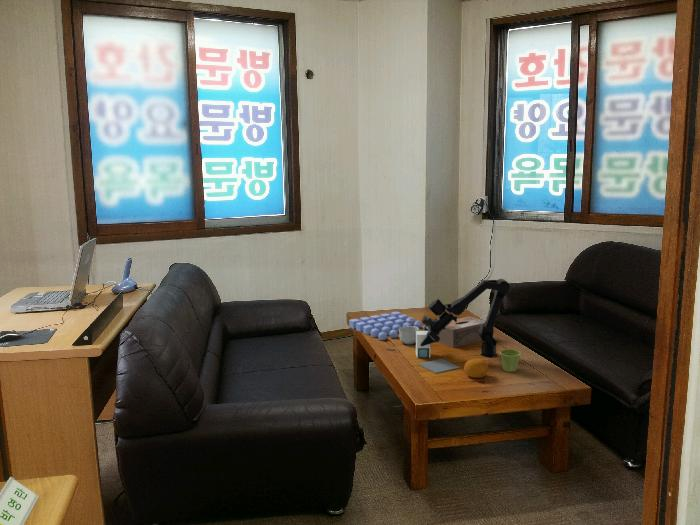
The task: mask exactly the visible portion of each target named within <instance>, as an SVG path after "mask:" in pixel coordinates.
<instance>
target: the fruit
mask: <svg viewBox="0 0 700 525" xmlns="http://www.w3.org/2000/svg"><path fill="white" fill-rule="evenodd" d="M463 368H464V372H465V374H466V375H467V376H468V377H471V378H475V379H480V378H483V377H485V376H486V375H487V374H488V372H489V366H488V363H487V362H485V360H484V359H482V358H472V359H469V360H467V361H466V362H465V363H464V367H463Z"/></svg>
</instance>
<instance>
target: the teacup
mask: <svg viewBox="0 0 700 525" xmlns="http://www.w3.org/2000/svg"><path fill="white" fill-rule="evenodd" d="M416 331H420V328H418V327H414V326H406V327H401V328H400V329H399V333H398V337H399V340H400V342H402V343H403V344H405V345H414V344H416Z"/></svg>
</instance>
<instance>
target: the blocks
mask: <svg viewBox="0 0 700 525" xmlns="http://www.w3.org/2000/svg"><path fill="white" fill-rule="evenodd" d="M348 322H349V323H348V324H349V326H348V327H349V328H351V329H352V330H353V329H354V330H355V331H357V332H360V333H361V332H362V333H363V334H365V335H367V336H368V335H370V336H371V337H372V338H378V340H379V341H383V342H384V341H386V340H387V338H388V336H389V337H390V338H391V339H396V338H398V337H399V329H400V328H401V327H406V326H414V327H418V328H419V329H421V328H422V331H424V326H425V324H424V325H423V323H422V321H420V320H416V319H415V318H414V317H412V316H411V317H410V316H408V315H407V314H404V313H403V314H402V312H399V311H392V312H391V313H390V314H389V313H380V315H378V314H375V315H371V316H369V317H367V316H364V317H359V319H358V318H352V319H349V320H348ZM422 326H423V327H422Z"/></svg>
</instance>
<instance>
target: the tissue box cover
mask: <svg viewBox="0 0 700 525" xmlns="http://www.w3.org/2000/svg"><path fill="white" fill-rule="evenodd" d="M485 321H486V320H483V319H480V318H476V317H473V316H465V317H460V318H457V322H455V321H454V320H452V321H451V322H450V323H449V324H448V325H447V326H446V327H445V328H446V329H445V330H444V329H443V330H442V331H441V332H440V334H439V337H440V340H439V341H438V342H437V343H440V344H443V345H445V346H447V347H451V348H458V347H462V346H465V345H469V344H470V345H471V344H475V343H478V342H484V341H483V340H482V339H481V338H480V336H479V332H478V330H479V328H480V324H484V323H485Z"/></svg>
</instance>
